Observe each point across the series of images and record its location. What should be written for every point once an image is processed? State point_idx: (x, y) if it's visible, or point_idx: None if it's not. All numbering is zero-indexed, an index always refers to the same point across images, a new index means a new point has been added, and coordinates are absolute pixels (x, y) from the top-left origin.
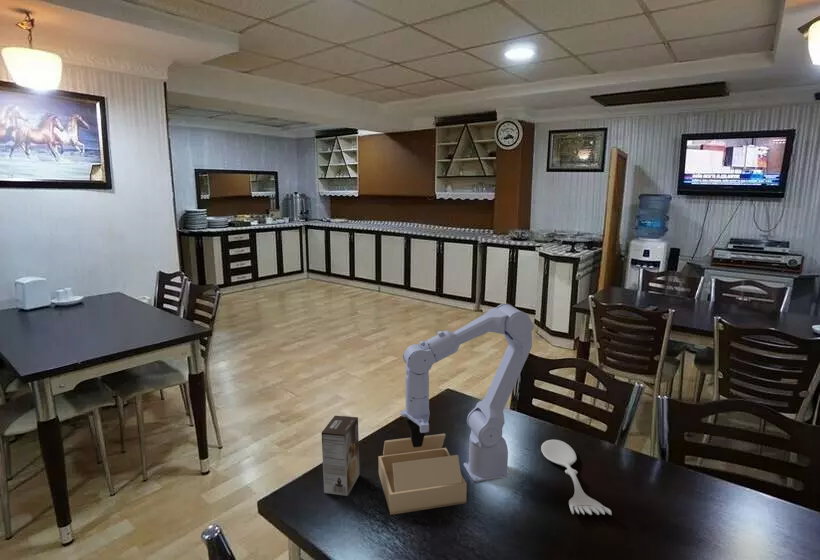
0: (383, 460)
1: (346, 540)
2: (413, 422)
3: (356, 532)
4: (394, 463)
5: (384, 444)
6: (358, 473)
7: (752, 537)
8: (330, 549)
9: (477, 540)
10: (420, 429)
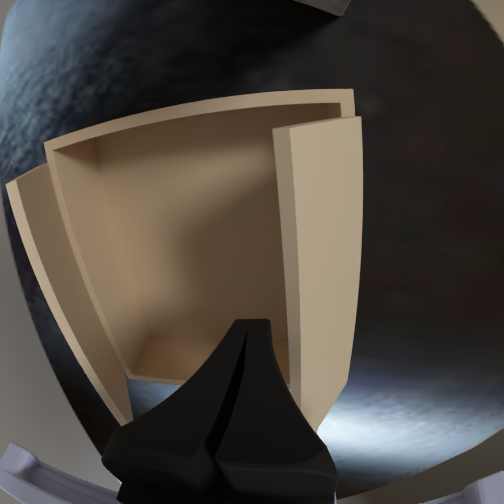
0: (337, 114)
1: (26, 32)
2: (155, 486)
3: (42, 46)
4: (9, 193)
5: (307, 123)
6: (325, 7)
7: None
8: (13, 9)
9: (50, 315)
10: (5, 458)
